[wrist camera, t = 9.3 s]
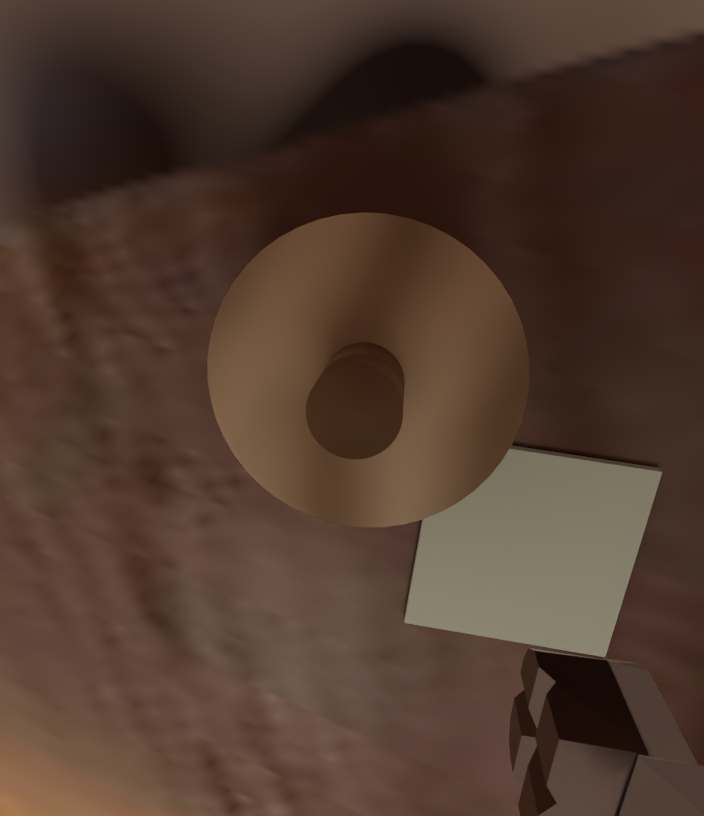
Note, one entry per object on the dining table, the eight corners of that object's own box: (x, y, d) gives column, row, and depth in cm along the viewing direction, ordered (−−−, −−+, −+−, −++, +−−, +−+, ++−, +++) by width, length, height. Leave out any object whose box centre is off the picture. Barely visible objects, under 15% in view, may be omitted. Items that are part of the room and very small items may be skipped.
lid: (555, 235, 21) (599, 236, 16) (490, 534, 24) (510, 611, 19) (226, 194, 21) (169, 182, 17) (210, 490, 25) (160, 553, 20)
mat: (657, 467, 32) (662, 471, 31) (602, 650, 35) (605, 657, 35) (437, 434, 32) (437, 437, 32) (404, 616, 36) (404, 622, 35)
